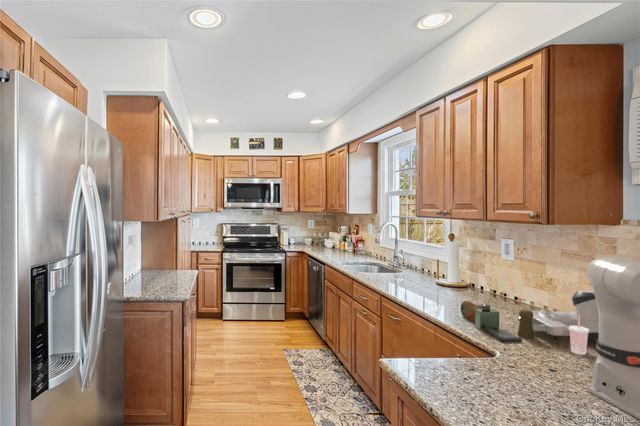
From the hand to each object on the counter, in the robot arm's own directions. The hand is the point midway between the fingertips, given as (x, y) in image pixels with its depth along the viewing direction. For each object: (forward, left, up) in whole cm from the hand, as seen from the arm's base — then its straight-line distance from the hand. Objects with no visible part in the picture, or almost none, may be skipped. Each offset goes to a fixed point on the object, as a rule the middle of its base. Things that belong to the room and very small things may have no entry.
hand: (524, 322), depth 146 cm
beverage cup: (-16, -10, -6) cm, 20 cm away
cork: (0, 0, -6) cm, 6 cm away
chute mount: (+3, +10, -5) cm, 12 cm away
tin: (+20, +13, -6) cm, 24 cm away
